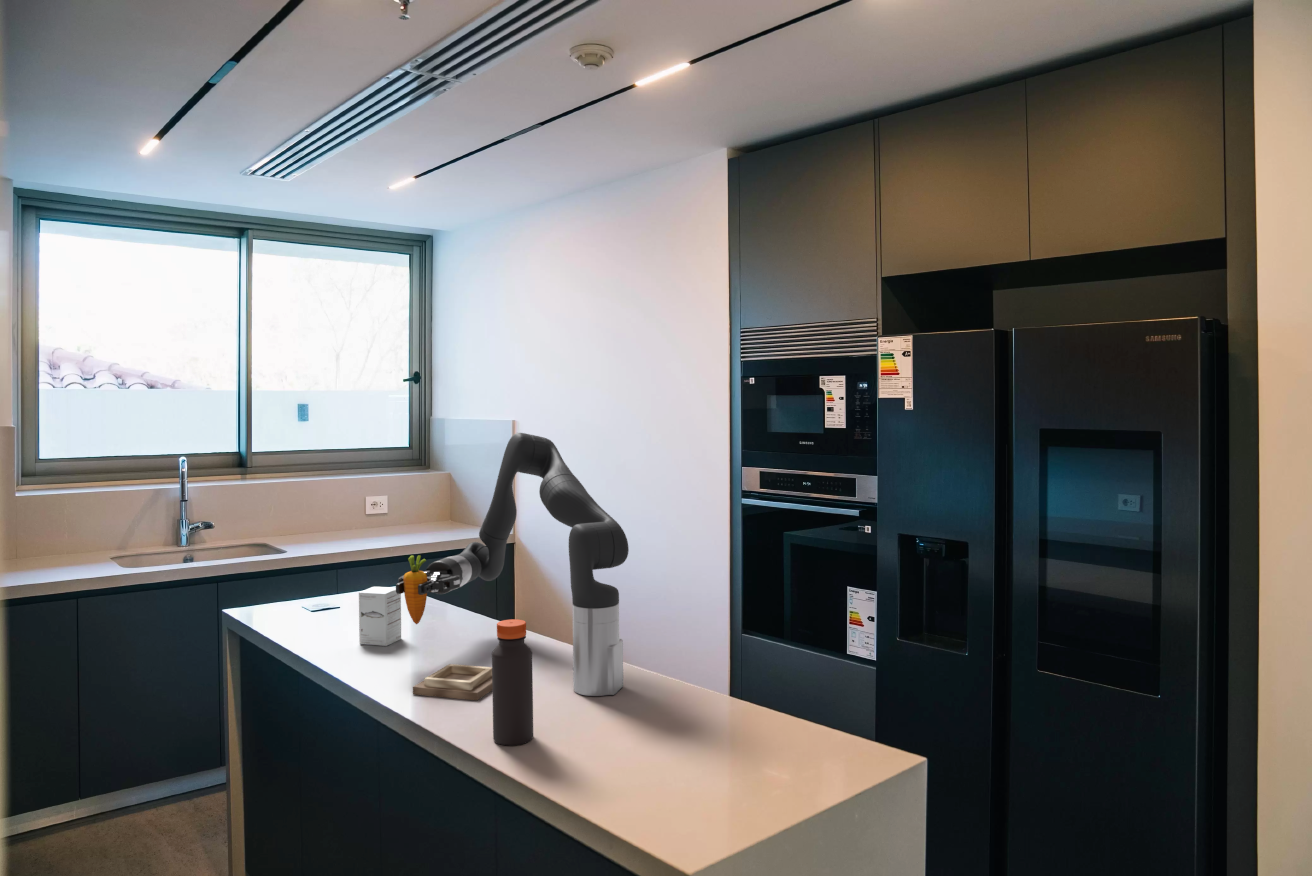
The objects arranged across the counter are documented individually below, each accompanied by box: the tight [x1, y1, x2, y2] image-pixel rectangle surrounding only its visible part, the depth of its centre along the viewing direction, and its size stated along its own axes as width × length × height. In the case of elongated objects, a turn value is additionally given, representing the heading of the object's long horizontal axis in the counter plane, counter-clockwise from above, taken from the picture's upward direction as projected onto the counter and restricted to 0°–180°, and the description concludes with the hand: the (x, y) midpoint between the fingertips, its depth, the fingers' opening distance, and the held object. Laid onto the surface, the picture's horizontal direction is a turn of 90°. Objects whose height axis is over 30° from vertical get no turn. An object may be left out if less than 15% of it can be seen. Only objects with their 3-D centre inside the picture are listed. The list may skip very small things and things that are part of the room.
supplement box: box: [358, 586, 402, 647], centre depth 214 cm, size 7×7×13 cm
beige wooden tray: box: [412, 663, 492, 701], centre depth 180 cm, size 14×12×3 cm
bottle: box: [491, 618, 534, 747], centre depth 152 cm, size 7×7×20 cm
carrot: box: [403, 554, 428, 625], centre depth 192 cm, size 5×5×15 cm
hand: (408, 589), depth 189 cm, fingers closed on carrot, 4 cm apart
